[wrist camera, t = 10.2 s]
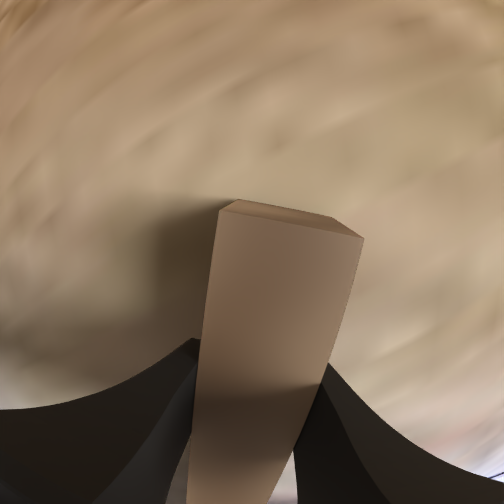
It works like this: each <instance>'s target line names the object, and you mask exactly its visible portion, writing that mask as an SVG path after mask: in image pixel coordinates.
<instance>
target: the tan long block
mask: <svg viewBox="0 0 504 504" xmlns="http://www.w3.org/2000/svg"><path fill="white" fill-rule="evenodd" d="M363 242H364V238H363V237H361V236H360V235H358V234H357V233H355V232H354V231H352V230H351V229H349V228H348V227H346V226H345V225H343V224H342V223H340V222H338V221H337V220H335V219H334V218H332V217H328V216H324V215H319V214H314V213H309V212H304V211H299V210H294V209H289V208H284V207H279V206H274V205H268V204H263V203H258V202H252V201H246V200H241V199H238V200H236V201H235V202H233V203H231V204H229V205H228V206H226V207H224V208H222V209H221V210H219V215H218V222H217V228H216V235H215V241H214V248H213V254H212V261H211V268H210V275H209V282H208V289H207V297H206V304H205V312H204V320H203V328H202V336H201V344H200V352H199V361H198V370H197V379H196V388H195V398H194V408H193V419H192V430H191V441H190V453H189V466H188V480H187V496H186V504H267V502H268V500H269V498H270V496H271V494H272V492H273V490H274V488H275V486H276V484H277V482H278V480H279V478H280V476H281V474H282V472H283V470H284V468H285V466H286V464H287V462H288V459H289V457H290V455H291V453H292V451H293V448H294V446H295V444H296V442H297V439H298V437H299V435H300V433H301V430H302V428H303V426H304V423H305V421H306V418H307V416H308V413H309V411H310V409H311V406H312V404H313V401H314V398H315V396H316V393H317V391H318V388H319V385H320V383H321V380H322V377H323V375H324V372H325V369H326V366H327V364H328V361H329V358H330V355H331V352H332V349H333V346H334V343H335V340H336V337H337V334H338V331H339V328H340V325H341V322H342V318H343V315H344V312H345V309H346V305H347V302H348V298H349V295H350V292H351V288H352V284H353V281H354V277H355V273H356V270H357V266H358V262H359V258H360V254H361V250H362V246H363Z"/></svg>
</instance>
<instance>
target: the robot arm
mask: <svg viewBox="0 0 504 504" xmlns="http://www.w3.org/2000/svg"><path fill="white" fill-rule="evenodd" d="M200 344H201V340H199V339H195V338H191V339H189V340H188V341H186V342H185V343H184V344H182V345H181V346H180V347H178V348H177V349H176V350H174V351H173V352H172V353H170V354H169V355H167V356H166V357H165V358H163V359H162V360H160V361H159V362H157V363H156V364H154V365H153V366H151V367H149V368H148V369H146V370H144V371H143V372H141V373H139V374H137V375H136V376H134V377H132V378H130V379H128V380H126V381H124V382H122V383H120V384H118V385H116V386H114V387H111V388H109V389H106V390H104V391H101V392H98V393H96V394H92V395H89V396H86V397H82V398H79V399H76V400H72V401H69V402H64V403H60V404H55V405H49V406H43V407H36V408H27V409H8V410H0V504H165V502H166V498H167V495H168V491H169V488H170V484H171V481H172V478H173V475H174V473H175V470H176V468H177V465H178V463H179V460H180V458H181V456H182V453H183V451H184V449H185V446H186V444H187V442H188V439H189V437H190V434H191V430H192V419H193V408H194V398H195V388H196V379H197V370H198V361H199V352H200ZM293 453H294V462H295V472H296V482H297V496H298V504H504V474H502V475H499V476H496V477H494V478H491V479H490V478H487V477H483V476H480V475H477V474H473V473H471V472H468V471H465V470H463V469H461V468H458V467H456V466H454V465H451V464H449V463H447V462H445V461H443V460H441V459H439V458H437V457H435V456H433V455H432V454H430V453H428V452H427V451H425V450H423V449H422V448H420V447H418V446H417V445H415V444H414V443H412V442H411V441H409V440H408V439H406V438H405V437H404V436H402V435H401V434H400V433H398V432H397V431H396V430H395V429H393V428H392V427H391V426H390V425H388V424H387V423H386V422H385V421H384V420H383V419H381V418H380V417H379V416H378V415H377V414H376V413H375V412H374V411H373V410H372V409H371V408H370V407H369V406H368V405H367V404H366V403H365V402H364V401H363V400H362V399H361V398H360V397H359V396H358V395H357V394H356V393H355V392H354V391H353V390H352V388H351V387H350V386H349V385H348V384H347V383H346V382H345V381H344V379H343V378H342V377H341V376H340V375H339V374H338V373H337V371H336V370H335V369H334V368H333V367H332V366H331V365H330V364H329V363H328V364H327V366H326V369H325V372H324V375H323V377H322V380H321V383H320V385H319V388H318V391H317V393H316V396H315V398H314V401H313V404H312V406H311V409H310V411H309V413H308V416H307V418H306V421H305V423H304V426H303V428H302V430H301V433H300V435H299V437H298V439H297V442H296V444H295V446H294V448H293Z"/></svg>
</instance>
